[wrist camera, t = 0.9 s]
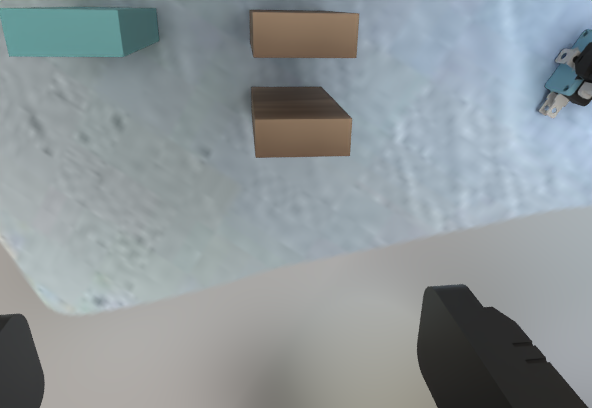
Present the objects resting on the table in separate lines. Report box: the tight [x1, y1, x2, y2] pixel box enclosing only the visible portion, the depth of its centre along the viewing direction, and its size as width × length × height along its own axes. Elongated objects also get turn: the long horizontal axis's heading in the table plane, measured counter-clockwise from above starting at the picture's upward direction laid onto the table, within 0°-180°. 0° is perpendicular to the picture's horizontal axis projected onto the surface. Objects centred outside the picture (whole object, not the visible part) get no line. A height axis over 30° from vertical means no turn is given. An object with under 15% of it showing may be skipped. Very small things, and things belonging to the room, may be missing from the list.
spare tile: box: [0, 7, 159, 57], centre depth 25 cm, size 2×5×10 cm, turn 89°
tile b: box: [249, 10, 359, 58], centre depth 26 cm, size 2×5×10 cm, turn 89°
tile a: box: [251, 87, 352, 158], centre depth 28 cm, size 2×5×10 cm, turn 89°
